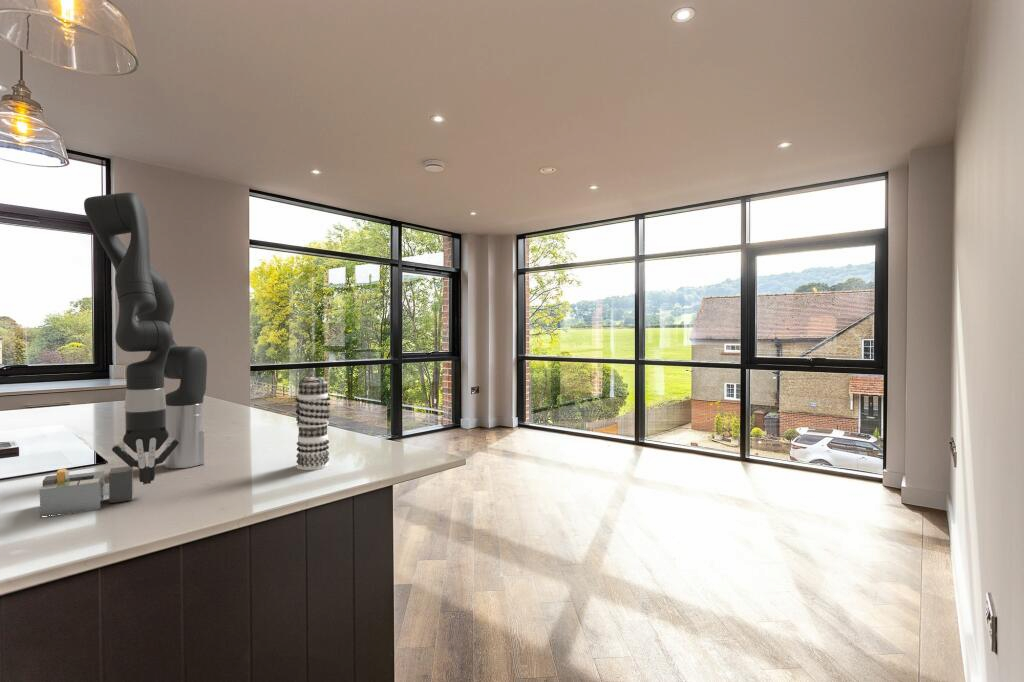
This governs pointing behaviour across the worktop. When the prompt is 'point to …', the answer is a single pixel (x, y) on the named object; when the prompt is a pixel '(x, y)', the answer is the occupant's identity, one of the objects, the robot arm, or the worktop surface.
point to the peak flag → (61, 475)
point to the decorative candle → (312, 423)
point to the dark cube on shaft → (116, 484)
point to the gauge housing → (71, 494)
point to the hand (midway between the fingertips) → (147, 483)
